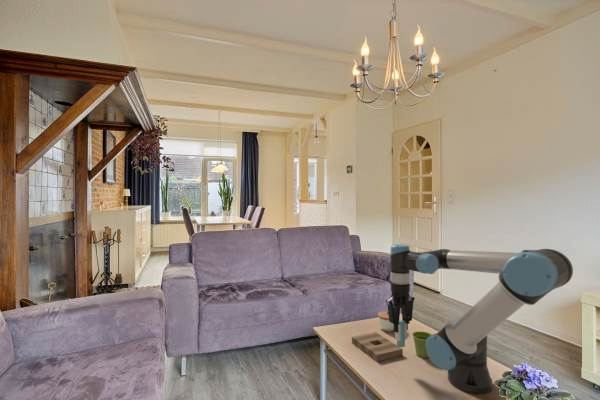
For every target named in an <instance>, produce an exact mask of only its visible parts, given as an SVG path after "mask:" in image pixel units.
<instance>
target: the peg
mask: <svg viewBox="0 0 600 400" xmlns="http://www.w3.org/2000/svg"><path fill="white" fill-rule="evenodd" d="M399 324H400V325H401V341H398V340H396V345H397V346H399V347H400V348H405V346H406V344H405V343H406V341H405V322H404V321H403V320H401V319H399Z"/></svg>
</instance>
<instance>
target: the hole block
mask: <svg viewBox="0 0 600 400" xmlns="http://www.w3.org/2000/svg"><path fill="white" fill-rule="evenodd" d="M351 344H352V345H354V346H355V347H357V348H358V349H360V350H361V351H362V352H363V353H365V355H367V356H369V357H370V359H373V361H375V362H376V363H377V362H378V363H379V362H383V361H386V360H391V359H394V358H395V359H396V358H398V357H399V358H400V357H402V356H403V354H404V353H403V347H399V346H397V343H394V342H392V341H391V340H389V339H388V338H386V337H384V336H383V335H381V334H379V333H378V332H377V331H376V332H375V331H374V332H370V333H365V334H360V335H354V336H351Z"/></svg>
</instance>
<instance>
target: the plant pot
mask: <svg viewBox="0 0 600 400" xmlns="http://www.w3.org/2000/svg"><path fill="white" fill-rule="evenodd" d="M431 335H432V333H430V332H427V331H423V330H422V331H414V332H412V334H411V336H412V338H413V343H414V349H415V354H416V356H419V357H420V358H425V359H426V358H427V359H428V358H429V356H428V354H427V351H426V340H427V338H428V337H430V336H431Z"/></svg>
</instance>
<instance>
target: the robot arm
mask: <svg viewBox="0 0 600 400" xmlns="http://www.w3.org/2000/svg"><path fill="white" fill-rule="evenodd" d="M389 256H390V258H389V259H390V281H391V282H390V291H391V295H390V298H389V299H388V298H387V299H386V300H385V302H386V305H387V311H388V314H389V322H391V323H392V324H394V330H393V332H394V339H395V340H396V341H397V340H398V341H401V325H400V324H399V320H400V318H401V319H402V320H403V321H404V322H405V340H407V339H408V336H407V335H408V334H407V333H408V330H409V326H408V325H409V324H410V323H411V321H413V313H414V312H413V311H414V302H415V299H416V298H415V297H414V296H412V295H411V294H410V291H411V287H410V286H411V284H410V282H411V279H410V278H411V277H410V275H411V274H410V273H411V272H410V271H413V272H417V273H421V274H427V275H433V274H435V273H436V272H437V270H439V269H440V270H442V269H443V270H457V271H464V272H465V271H468V272H478V273H488V274H489V273H490V274H498V277H497V278H498V283H496V284H495V285H494V286H493V287H492V288H491V289H490V290H489V291H488V292H487V293H486V294H485V295H484V296H482V297H481V298H480V299H479V300H478V301H477V302H476V303H475V304H474V305H473V306H472V307H471V308H470V309H468V310H467V311H466V312H465V313H464V314H463V315H462V316H461V317H460V318H454V319H453V320H452V321H451V322H448V323H446V324H445V325H444V326H443V327H442V328H441V329H440V330H439V331H438V332H436V333H434V334H432V333H431V334H432V335H431V336H430V337H428V338H427V340H426V351H427V354H428V356H429V357H428V358H429V359H430V361H431V363H433V364H434V366H436V367H438V368H439V369H441V370H443V371H447V380H448V382H449V383H450V384H451V385H452V386H454V387H455V388H457V389H459V390H462V391H463V392H468V393H471V394H478V395H479V394H481V395H482V394H488V393H490V392H491V391H492V390H493V379H492V378H491V374H490V371H489V368H488V336H489V334H491V333H492V332H493V331H494V330H495V329H497V327H499V326H500V325H501V324H503V323H504V322H505V321H506V320H507V319H508V318H510V317H511V316H513V315H514V313H516V312H518V310H519V309H520V308H522V307H523V306H524V305H528V306H533V305H535V304H537V303H538V302H539V301H540V300H541V299H543V298H544V297H545V296H547V295H548V294H549V293H550V292H552V291H554V290H555V289H558V288H560V287H561V288H562V287H563V286H564V285H566V284H568V283H569V282H570V280H571V279H572V277H573V274H574V268H573V265H572V262H571V260H570V259H569V258H568V257H567V256H566V255H565V254H564V253H562V252H560V251H558V250H556V249H551V248H550V249H549V248H540V249H523V250H521V251H520V252H505V251H504V252H503V251H480V250H479V251H477V250H456V249H455V250H454V249H452V250H451V249H448V248H447V249H446V248H439V249H436V250H431V251H430V250H429V251H423V252H421V251H420V252H418V251H411V250H410V246H409V245H407V244H392V245H391V246H390V255H389ZM400 315H401V317H400Z"/></svg>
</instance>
